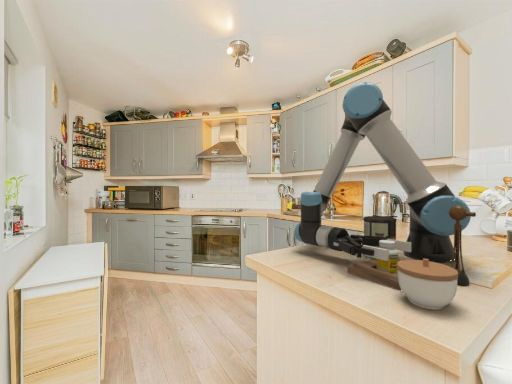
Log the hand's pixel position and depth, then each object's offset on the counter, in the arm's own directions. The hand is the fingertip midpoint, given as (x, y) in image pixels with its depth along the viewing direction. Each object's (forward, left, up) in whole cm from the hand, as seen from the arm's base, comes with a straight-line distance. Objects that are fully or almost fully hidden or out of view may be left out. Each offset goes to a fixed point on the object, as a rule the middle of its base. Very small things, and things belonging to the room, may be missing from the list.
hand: (400, 251), depth 66 cm
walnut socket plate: (0, -3, -7) cm, 8 cm away
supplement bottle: (0, -3, -8) cm, 8 cm away
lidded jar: (+9, +10, -8) cm, 16 cm away
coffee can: (-14, -14, -8) cm, 21 cm away
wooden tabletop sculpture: (-10, +10, -8) cm, 16 cm away
